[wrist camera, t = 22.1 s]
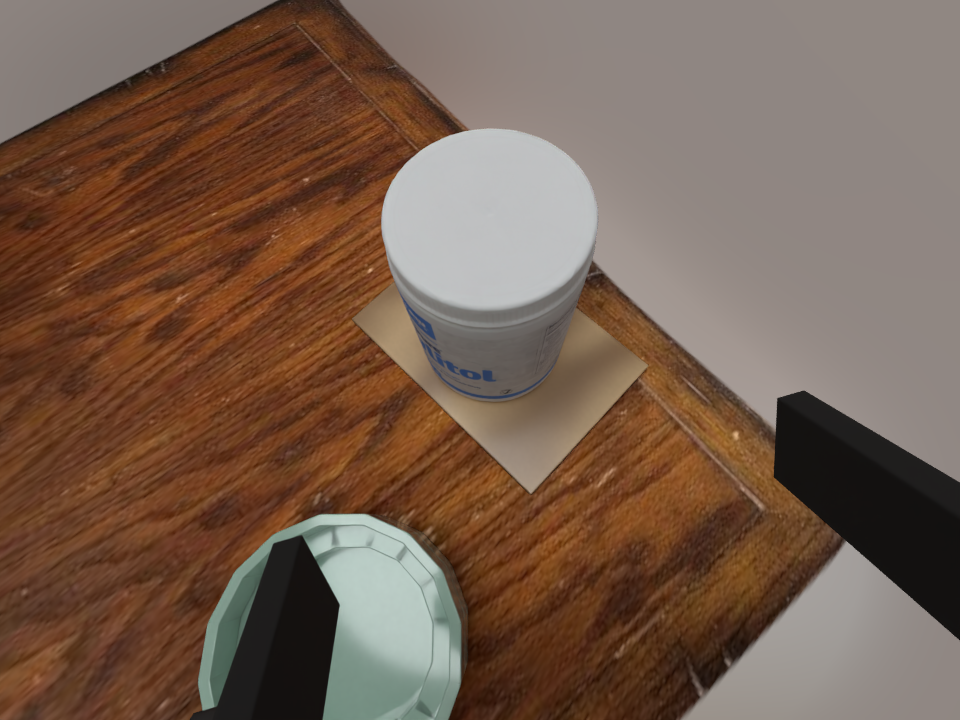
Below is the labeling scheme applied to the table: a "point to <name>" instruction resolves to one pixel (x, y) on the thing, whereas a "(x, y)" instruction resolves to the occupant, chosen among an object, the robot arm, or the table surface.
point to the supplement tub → (490, 256)
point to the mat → (529, 418)
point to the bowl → (364, 619)
